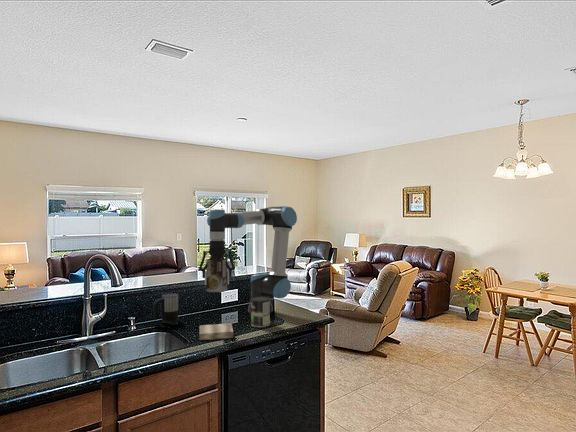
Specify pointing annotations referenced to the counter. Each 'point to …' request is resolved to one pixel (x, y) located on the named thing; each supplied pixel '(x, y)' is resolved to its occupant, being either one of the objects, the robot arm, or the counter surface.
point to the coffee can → (260, 311)
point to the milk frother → (167, 308)
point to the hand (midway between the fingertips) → (216, 284)
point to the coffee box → (216, 275)
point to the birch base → (215, 331)
